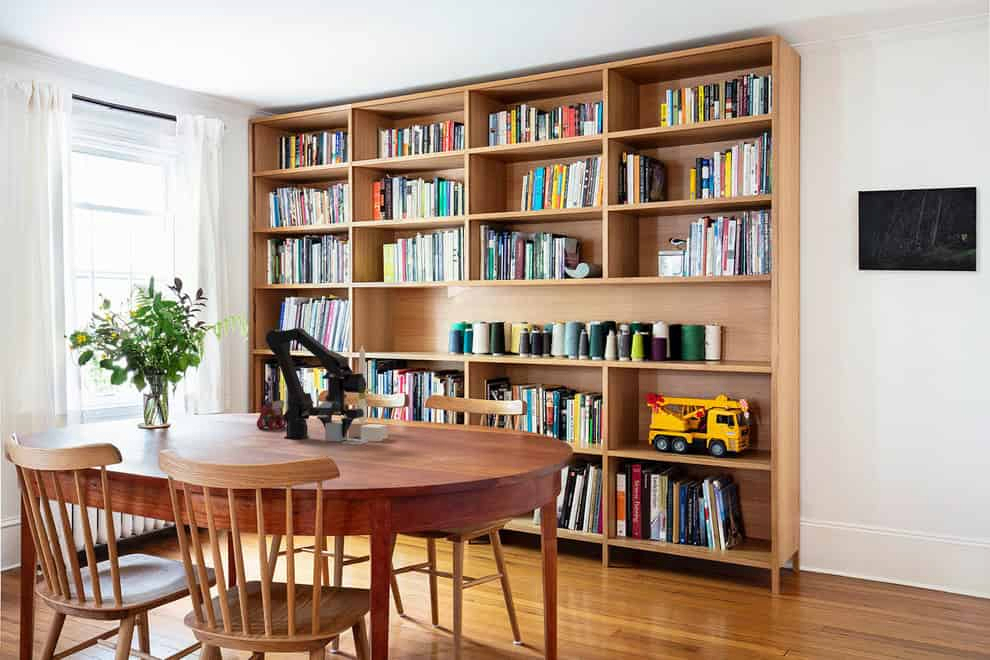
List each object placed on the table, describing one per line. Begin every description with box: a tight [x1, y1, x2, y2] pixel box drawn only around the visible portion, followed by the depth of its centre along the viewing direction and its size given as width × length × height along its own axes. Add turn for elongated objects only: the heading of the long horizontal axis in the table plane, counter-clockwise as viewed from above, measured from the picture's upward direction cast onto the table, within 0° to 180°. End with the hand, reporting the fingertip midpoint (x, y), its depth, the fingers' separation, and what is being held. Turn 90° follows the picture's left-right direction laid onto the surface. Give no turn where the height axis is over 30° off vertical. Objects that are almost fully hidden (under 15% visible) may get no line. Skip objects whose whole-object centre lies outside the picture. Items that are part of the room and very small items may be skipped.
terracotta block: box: [347, 421, 365, 438], centre depth 314 cm, size 5×5×5 cm
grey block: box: [324, 420, 348, 443], centre depth 304 cm, size 6×6×6 cm
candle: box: [358, 344, 374, 425], centre depth 327 cm, size 10×10×32 cm
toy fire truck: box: [256, 399, 287, 431], centre depth 333 cm, size 7×12×10 cm, turn 153°
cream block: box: [360, 423, 388, 442], centre depth 307 cm, size 7×7×5 cm
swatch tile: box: [341, 438, 368, 445], centre depth 300 cm, size 7×7×1 cm
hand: (336, 437), depth 304 cm, fingers closed on grey block, 5 cm apart
